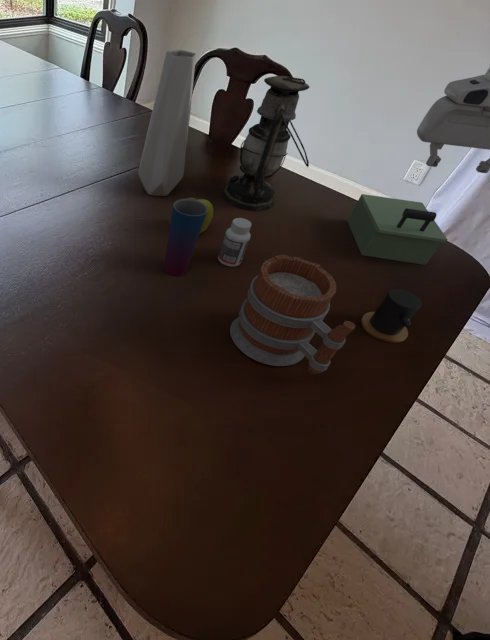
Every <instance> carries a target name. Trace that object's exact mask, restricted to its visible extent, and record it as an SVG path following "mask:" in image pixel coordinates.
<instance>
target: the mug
mask: <svg viewBox="0 0 490 640" xmlns="http://www.w3.org/2000/svg"><path fill="white" fill-rule="evenodd" d="M336 292H337V284H336V281H335V278H334V277H333V275H331V274H330V273H329V272H328V271H327V270H325V269H324V268H323V267H321V265H320V264H319V263H316V262H312V261H309V260H305V259H302V258H301V257H299V256H288V254H280V255H279V254H278V255H275V256H274V257H272V258H269V259H267V260H265V261H264V262H263V263H262V265H261V268H260V270H259V273H258V275H256V276H255V277H254V278H253V279H252V280H251V283H250V285H249V288H248V290H247V298H246V299H245V300H243V303H242V304H241V308H240V310H239V312H238V317H236V318H235V319H234V320H233V321H232V322H231V324H230V330H229V332H230V333H229V334H230V337H231V340H232V342H233V343H234V344H235V346H236V347H237V348H238V349H239V351H241V352H242V353H243V354H244V355H246V356H247V357H248V358H250V359H252V360H254V361H256V362H258V363H261V364H264V365H267V366H274V367H286V366H292V365H295V364H298V363H300V361H302V360H303V359H304V357H305V358H307V359H308V365H307V373H308V374H309V375H312V376H316V375H319V374H321V373H323V372H324V371H327V370H328V368H329V366H330V365H331V360H332V358H333V357H334V356H335V354H336V353H337V351H338V350H340V349H342V348H343V346H344V344H345V343H346V337H347V336H348V335H349V334H350V333H352V331H354V330H355V328H356V325H355V323H354V322H352V321H349V320H345V321H344V322H343V323H342V324H339V325H336V327H335V328H331V327H330V326H328V324H326V323H325V322H324V319H325V317H326V316H327V314H328V313H329V311H330V307H331V300H332V299H333V297H334V296H335V294H336ZM315 334H317V335H318V336H320V337H321V338H322V343H321V345H320V347H319V348H318V349H316V348H315V347H314V346H313V344H311V343H310V342H311V340H312V339H313V338H314V335H315Z"/></svg>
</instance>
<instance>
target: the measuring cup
mask: <svg viewBox="0 0 490 640" xmlns="http://www.w3.org/2000/svg"><path fill="white" fill-rule="evenodd" d="M421 306H422V301H421V299H420V298H419V297H418V296H417V295H415V294H414V293H413V292H411V291H408V290H405V289H400V288H393V289H391V290H389V292H388V293H387V294H386V296H385V297H384V298H383V300H382V301H381V303H380V304H379V306H378V307H377V309H376V310H375V311H374V312H375V313H374V314H373V316H372V317H371V318H370V324H371V325H372V327H373V328H374V329H376V330H377V331H379V332H381V333H383V334H386V335H397V334H399V333H400V332H401V330H402V329H403V328H404V327H406V328H408V327H409V328H410V326H411V325H412V322H411V320H412V318H413V317H414V316H415V314H416V313H417V312H418V311H419V309H420V308H421Z"/></svg>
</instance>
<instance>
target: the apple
mask: <svg viewBox="0 0 490 640" xmlns="http://www.w3.org/2000/svg"><path fill="white" fill-rule="evenodd" d="M195 194H196V198H194V197H188V198H187V199H193V200H197V201H199V202H201V203H203V204H204V205H206V207H207V209H208V211H207V214H206V217H205V220H204V223H203V225H202V228H201V231H200V234H201V233H203V232H205V231H206V230H207V229H208V227H209V226H210V224H211V222H212V219H213V217H214V206H213V204H212V203H211V202H210V201H209V200H208V199H205V198H199V197H198V193H195Z"/></svg>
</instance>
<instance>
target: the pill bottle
mask: <svg viewBox="0 0 490 640" xmlns="http://www.w3.org/2000/svg"><path fill="white" fill-rule="evenodd" d="M251 227H252V222H251V221H250V220H248V219H246V218H243V217H236V218H234V219H233V220H232V223H231V225H230V227H228V228H227V229H226V231H225V234H224V236H223V239H222V243H221V245H220V249H219V253H218V256H217V259H218V261H219V262H220V263H221V264H222V265H224V266H226V267H230V268H231V267H232V268H234V267H238V266H240V265H241V264H242V261H243V259H244V256H245V254H246V251H247V248H248V247H249V246H248V245H249V243H250V241H251V236H252V235H251V232H250V231H251Z"/></svg>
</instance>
